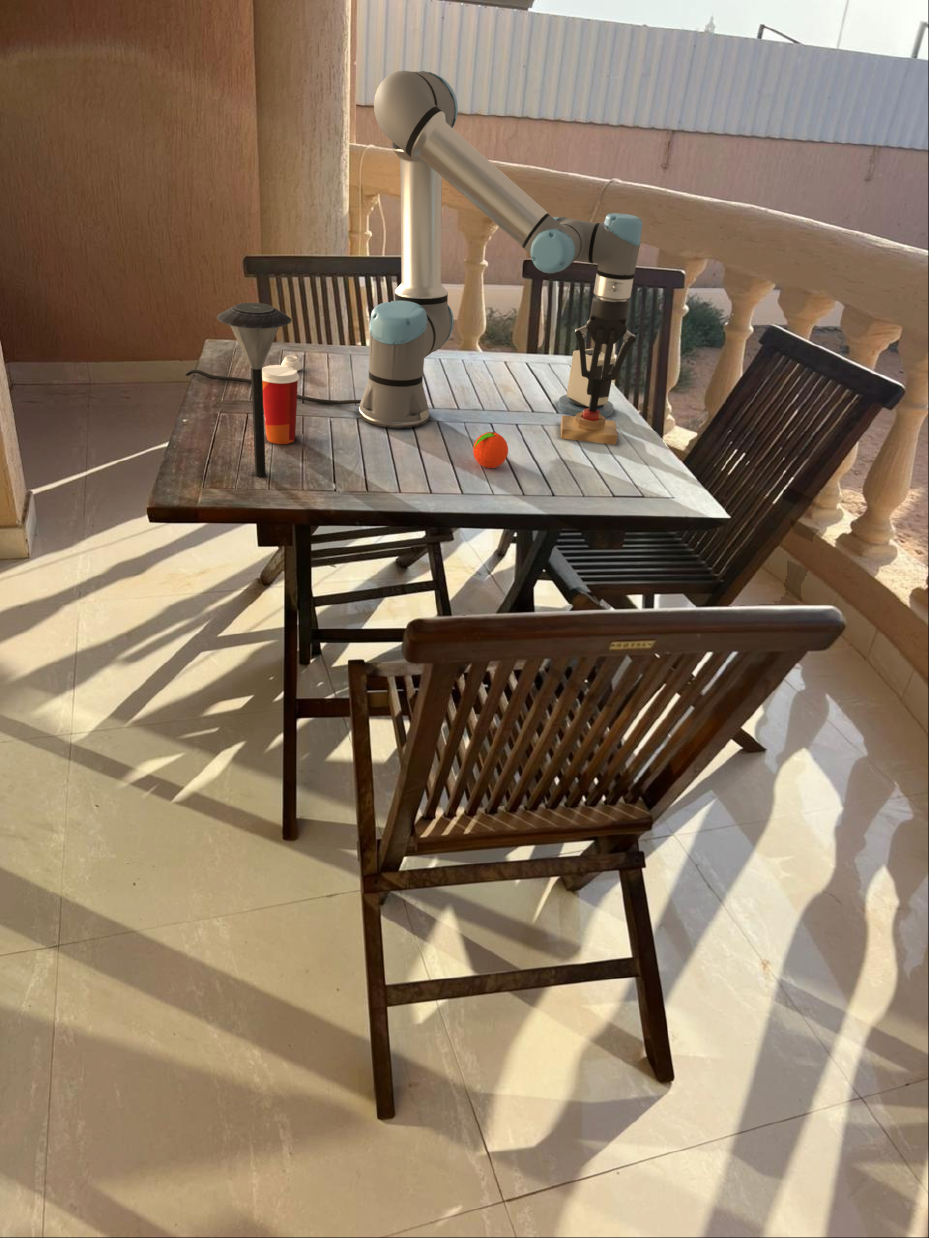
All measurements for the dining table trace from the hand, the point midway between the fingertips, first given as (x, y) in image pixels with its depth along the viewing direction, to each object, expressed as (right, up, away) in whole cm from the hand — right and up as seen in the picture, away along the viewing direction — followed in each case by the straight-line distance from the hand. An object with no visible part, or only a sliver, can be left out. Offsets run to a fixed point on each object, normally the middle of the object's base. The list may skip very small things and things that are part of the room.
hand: (592, 409), depth 191 cm
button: (0, -2, +1) cm, 2 cm away
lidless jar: (-70, +15, +22) cm, 75 cm away
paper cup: (-65, -10, -15) cm, 67 cm away
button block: (-1, -5, +3) cm, 6 cm away
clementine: (-24, -16, -17) cm, 33 cm away
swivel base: (+1, +4, +17) cm, 18 cm away
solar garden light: (-66, -19, -30) cm, 75 cm away
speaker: (+1, +6, +16) cm, 17 cm away
